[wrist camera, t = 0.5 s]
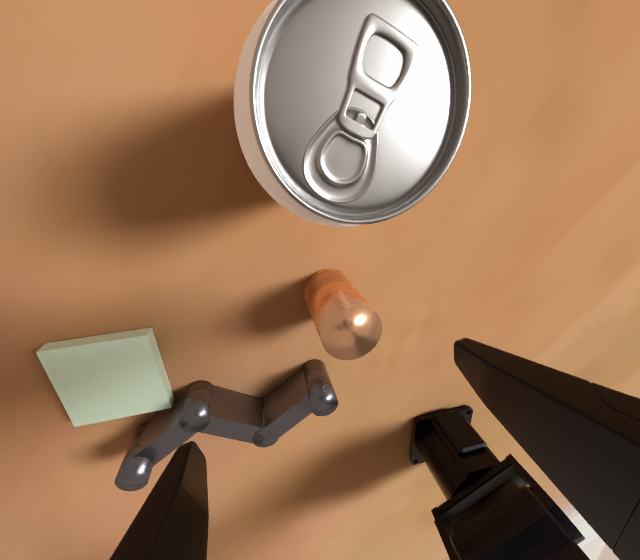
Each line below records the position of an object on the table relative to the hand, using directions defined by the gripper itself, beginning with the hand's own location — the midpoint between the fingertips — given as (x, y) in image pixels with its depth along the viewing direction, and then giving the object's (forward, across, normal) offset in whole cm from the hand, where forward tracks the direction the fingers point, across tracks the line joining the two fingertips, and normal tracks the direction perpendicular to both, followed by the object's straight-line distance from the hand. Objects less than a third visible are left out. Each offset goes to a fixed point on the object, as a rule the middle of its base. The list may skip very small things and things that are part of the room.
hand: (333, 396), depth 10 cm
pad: (+13, +14, +4) cm, 19 cm away
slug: (+12, -3, +3) cm, 13 cm away
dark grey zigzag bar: (+12, +7, +10) cm, 17 cm away
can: (+13, -3, -7) cm, 15 cm away
